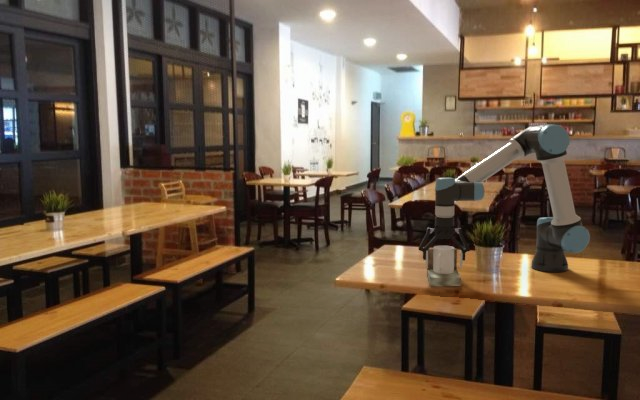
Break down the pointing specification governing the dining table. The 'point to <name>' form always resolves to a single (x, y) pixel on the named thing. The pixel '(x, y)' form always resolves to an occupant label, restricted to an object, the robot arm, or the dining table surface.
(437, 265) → the mug
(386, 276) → the dining table surface
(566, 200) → the robot arm
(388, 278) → the dining table surface
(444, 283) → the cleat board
